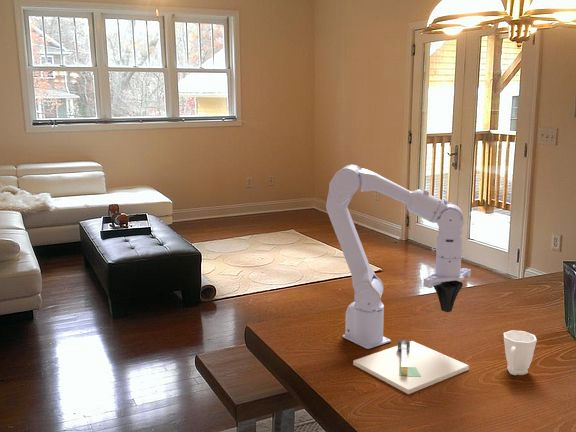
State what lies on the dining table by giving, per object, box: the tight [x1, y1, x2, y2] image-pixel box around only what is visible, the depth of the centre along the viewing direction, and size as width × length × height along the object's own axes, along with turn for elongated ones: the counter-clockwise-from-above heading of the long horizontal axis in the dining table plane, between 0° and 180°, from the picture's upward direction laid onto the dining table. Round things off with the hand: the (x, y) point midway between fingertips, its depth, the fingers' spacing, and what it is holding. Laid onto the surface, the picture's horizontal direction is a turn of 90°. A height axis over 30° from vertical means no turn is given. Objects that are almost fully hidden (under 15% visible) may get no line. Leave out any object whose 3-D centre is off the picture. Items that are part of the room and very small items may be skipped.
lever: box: [397, 339, 410, 375], centre depth 131 cm, size 14×3×2 cm, turn 170°
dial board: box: [352, 340, 470, 395], centre depth 130 cm, size 17×19×1 cm
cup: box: [503, 329, 538, 376], centre depth 126 cm, size 7×10×8 cm
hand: (446, 310), depth 139 cm, fingers closed
